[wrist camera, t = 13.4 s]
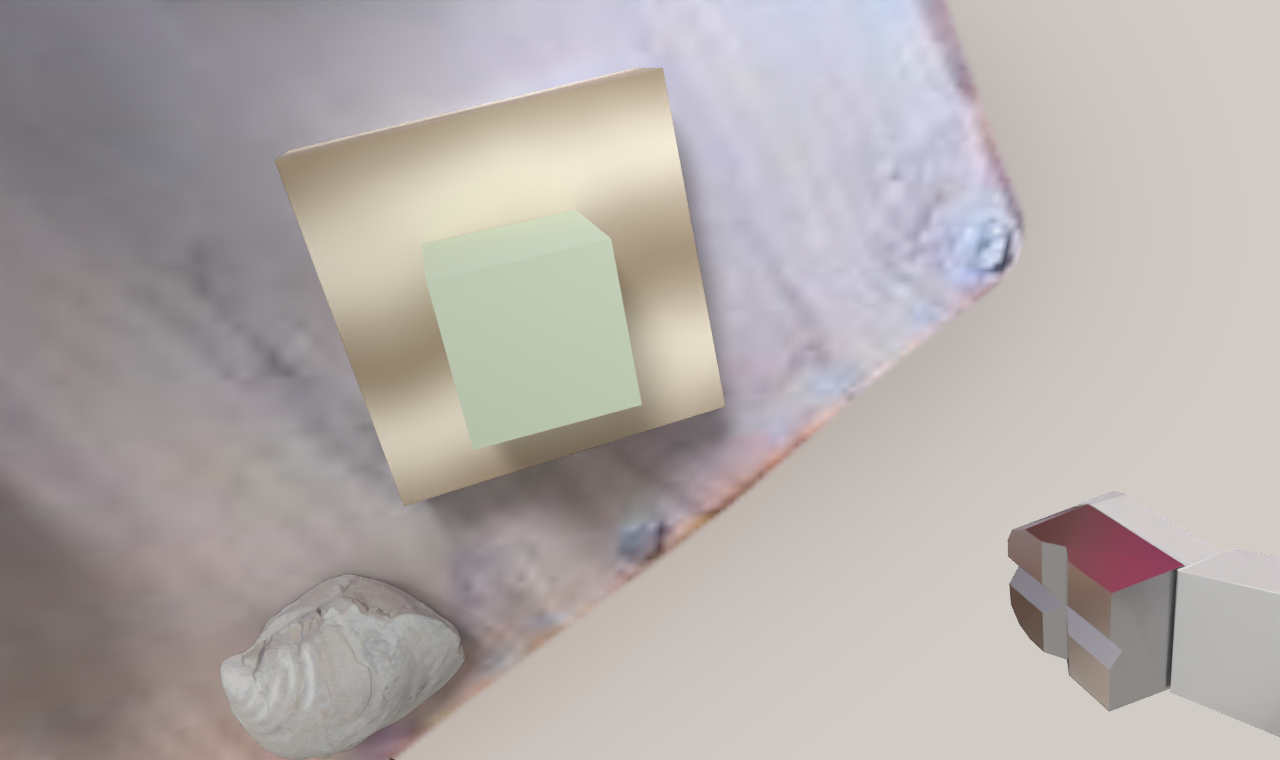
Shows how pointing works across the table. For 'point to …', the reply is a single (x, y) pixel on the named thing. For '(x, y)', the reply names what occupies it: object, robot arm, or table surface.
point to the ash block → (489, 198)
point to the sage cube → (532, 326)
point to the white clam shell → (339, 667)
